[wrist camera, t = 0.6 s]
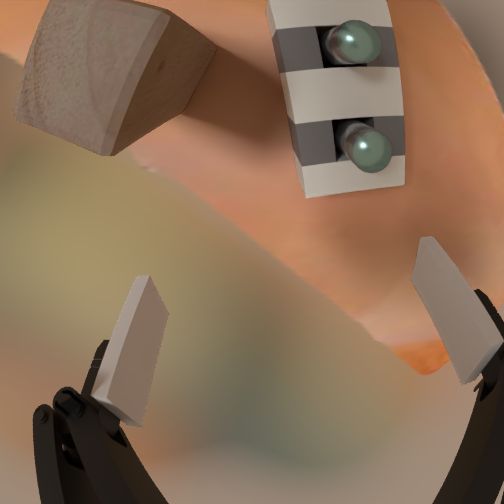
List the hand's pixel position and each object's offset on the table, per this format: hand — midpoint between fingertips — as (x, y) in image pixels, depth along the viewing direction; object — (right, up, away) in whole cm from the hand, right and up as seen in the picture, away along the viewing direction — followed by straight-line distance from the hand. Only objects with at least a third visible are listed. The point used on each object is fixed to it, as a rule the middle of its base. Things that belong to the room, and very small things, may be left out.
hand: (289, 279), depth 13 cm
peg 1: (+7, +22, +9) cm, 25 cm away
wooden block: (-12, +24, +15) cm, 30 cm away
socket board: (+8, +21, +16) cm, 28 cm away
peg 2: (+9, +14, +15) cm, 22 cm away
